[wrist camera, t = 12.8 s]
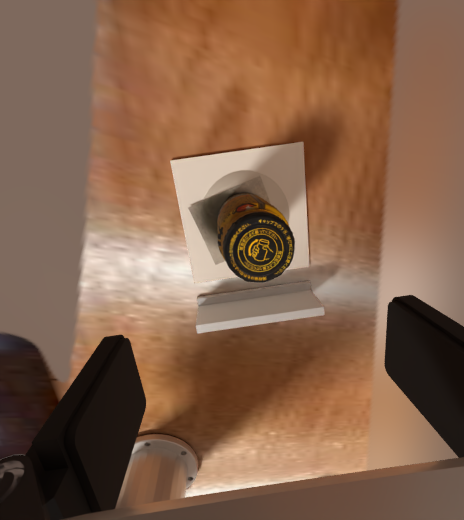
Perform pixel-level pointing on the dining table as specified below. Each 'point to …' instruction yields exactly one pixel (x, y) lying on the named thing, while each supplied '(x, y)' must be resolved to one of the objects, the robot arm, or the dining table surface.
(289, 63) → the dining table surface
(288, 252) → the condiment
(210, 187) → the pad
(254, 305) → the low wall
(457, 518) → the robot arm
